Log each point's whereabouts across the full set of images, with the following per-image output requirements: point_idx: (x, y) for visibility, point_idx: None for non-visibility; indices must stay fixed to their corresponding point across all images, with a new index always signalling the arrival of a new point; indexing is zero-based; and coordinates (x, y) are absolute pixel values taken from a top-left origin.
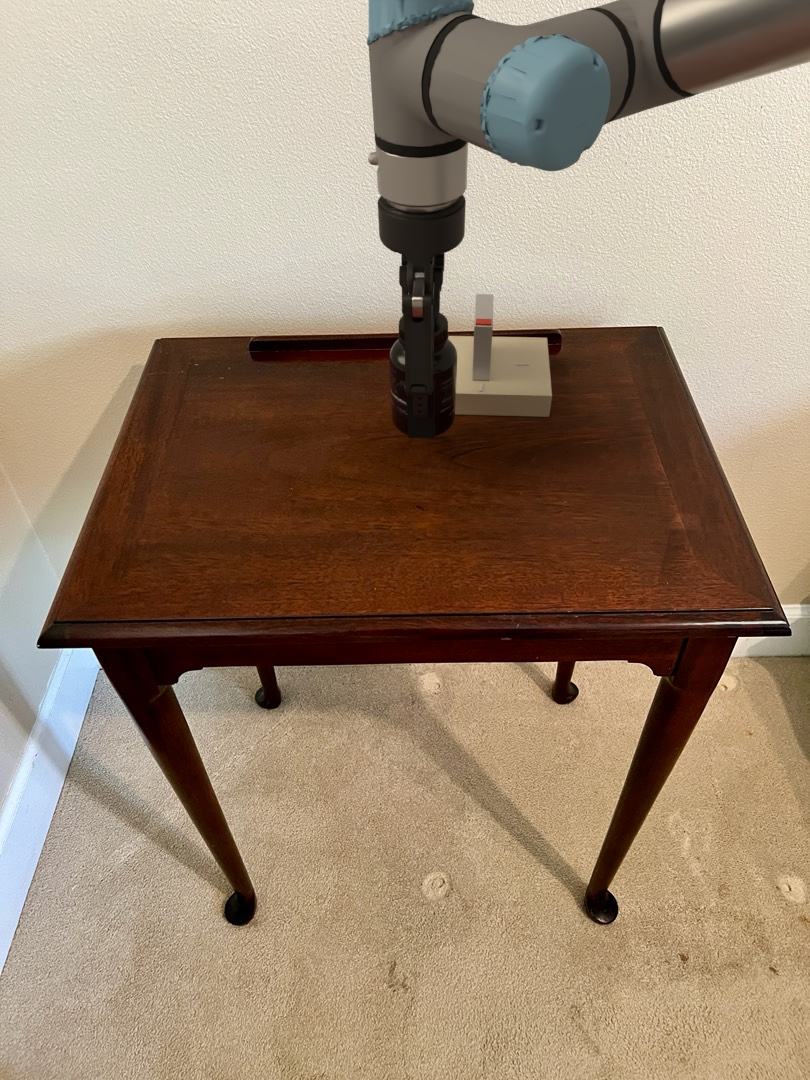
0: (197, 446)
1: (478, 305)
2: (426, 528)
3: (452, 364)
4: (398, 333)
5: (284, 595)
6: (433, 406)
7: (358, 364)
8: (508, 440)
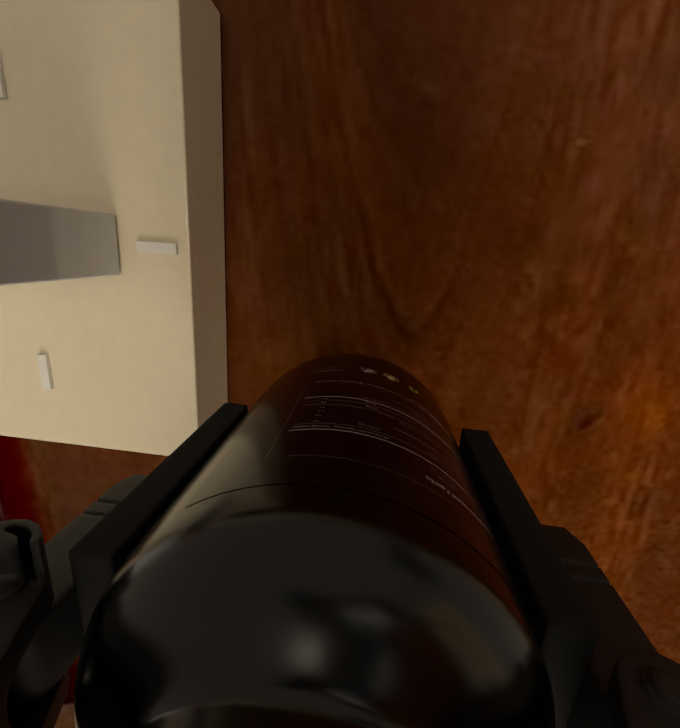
0: None
1: None
2: (669, 410)
3: (448, 554)
4: None
5: None
6: (537, 522)
7: (58, 528)
8: (336, 167)
